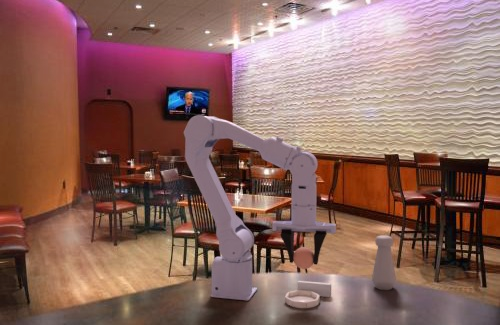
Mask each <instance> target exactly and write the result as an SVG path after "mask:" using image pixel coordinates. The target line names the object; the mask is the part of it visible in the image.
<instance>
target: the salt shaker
mask: <svg viewBox="0 0 500 325" xmlns="http://www.w3.org/2000/svg"><path fill="white" fill-rule="evenodd" d="M375 245H376V246H377V249H376V255H375V260H374V264H373V270H372V274H371V279H372V282H373V284H374V287H375V289H378V290H380V291H390V290H392V289H393V288H394V287H395V284H396V281H397V276H396V270H395V266H394V259H393V253H392V247H394V239H393V237H392V236H390V235H386V234H385V235H384V234H383V235H377V236H376V237H375Z"/></svg>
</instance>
